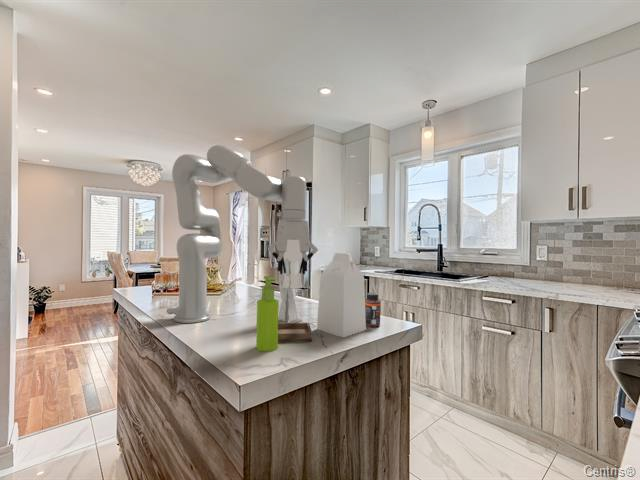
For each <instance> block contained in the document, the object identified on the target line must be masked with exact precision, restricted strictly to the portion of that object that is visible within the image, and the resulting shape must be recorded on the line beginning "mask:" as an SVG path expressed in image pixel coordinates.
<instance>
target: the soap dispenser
mask: <svg viewBox="0 0 640 480" xmlns="http://www.w3.org/2000/svg"><path fill="white" fill-rule="evenodd" d="M263 279H265V281H264V287H262V289H261V299H258V300H257V301H256V337H255V339H256V342H255V343H256V344H255V348H256V350H257V351H259V352H272V351H276V350H277V349H278V348H279V347H278V346H279V345H278V343H279V342H278V317H279V302H280V301H279V299H275V288H274V287H273V286H272V282H275V281H276V278H275V277H274V276H272V275H265V276H263Z"/></svg>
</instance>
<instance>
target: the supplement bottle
mask: <svg viewBox="0 0 640 480" xmlns="http://www.w3.org/2000/svg"><path fill="white" fill-rule="evenodd" d="M381 302H382V301H381V300H380V299H379V294H378V293H376V292H375V293H374V292H367V293H366V298H365V319H366V327H369V328H370V327H371V328H377V326H378V327H380V325H381V304H382V303H381Z"/></svg>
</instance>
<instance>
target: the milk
mask: <svg viewBox="0 0 640 480" xmlns="http://www.w3.org/2000/svg"><path fill="white" fill-rule="evenodd" d="M319 277H320V279H319V292H318V293H319V294H318V308H317V319H316V330H318V331H322V332H325V333H328V334H331V335H335V336H337V335H338V337H340V336H341V338H346V337H350V336H352V334H353V335H355V333H356V334H359V333H362V332H361V331H363V332H365V331H364V330H366V331H367V326H366V319H365V299H366V298H365V297H366V296H365V295H366V294H365V293H366V292H365V276H364V273H363V272H362V270H360V268H359V267H358V266H357V265H356V264H355V262H354V260H353V257H352V254H351V253H349V252H334V255H333V257H332V261H330V262H329V264H328V265H327V266H326V267H325V268H324V269H323V271H322V272H321V274H320V276H319ZM358 332H359V333H358Z"/></svg>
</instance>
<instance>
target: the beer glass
mask: <svg viewBox="0 0 640 480" xmlns="http://www.w3.org/2000/svg"><path fill="white" fill-rule="evenodd" d="M299 242H300V240H287V248H286V252H285V253H284V252H283V257H282V261H283V269H284V281H283V288H287V289H297V290H298V289H302V288H303V283H302V266H303V259H304V257H303V253H301V252H300V244H299Z"/></svg>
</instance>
